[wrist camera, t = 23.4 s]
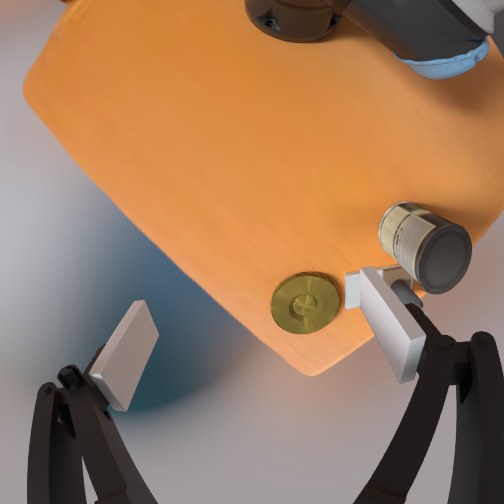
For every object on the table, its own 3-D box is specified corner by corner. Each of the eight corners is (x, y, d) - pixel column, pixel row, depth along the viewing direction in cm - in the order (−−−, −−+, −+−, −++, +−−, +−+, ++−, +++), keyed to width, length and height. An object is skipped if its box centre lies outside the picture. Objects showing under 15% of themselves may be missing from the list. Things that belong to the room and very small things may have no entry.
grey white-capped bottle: (391, 280, 45) (416, 312, 36) (406, 278, 45) (433, 308, 36) (388, 296, 46) (412, 329, 37) (404, 293, 46) (428, 325, 37)
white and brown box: (344, 273, 47) (347, 277, 45) (412, 261, 46) (416, 265, 44) (344, 306, 49) (347, 311, 48) (408, 293, 48) (412, 298, 47)
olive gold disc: (325, 260, 46) (328, 265, 44) (342, 313, 50) (345, 319, 48) (260, 286, 48) (260, 292, 46) (284, 335, 52) (285, 342, 50)
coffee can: (417, 191, 41) (467, 212, 28) (430, 241, 44) (474, 273, 31) (369, 216, 43) (410, 246, 30) (386, 266, 46) (423, 307, 33)
